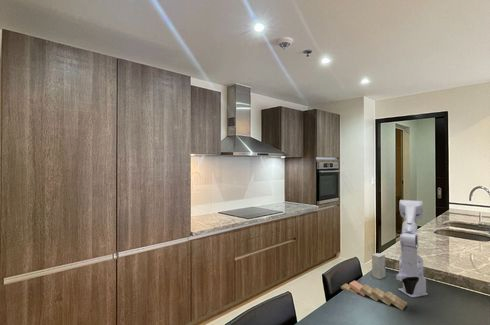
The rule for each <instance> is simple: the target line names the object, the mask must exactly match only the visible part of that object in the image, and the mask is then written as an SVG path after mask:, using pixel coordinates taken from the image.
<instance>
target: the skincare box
mask: <svg viewBox="0 0 490 325" xmlns="http://www.w3.org/2000/svg"><path fill="white" fill-rule="evenodd" d="M371 272H372V274H371V275H372V278H375V279H378V280H381V279H384V278H386V255H385V254H384V253H380V252H377V253H372V254H371Z"/></svg>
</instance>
